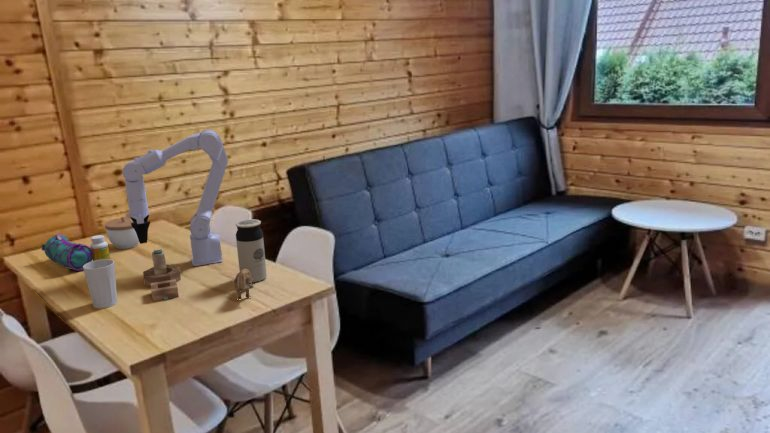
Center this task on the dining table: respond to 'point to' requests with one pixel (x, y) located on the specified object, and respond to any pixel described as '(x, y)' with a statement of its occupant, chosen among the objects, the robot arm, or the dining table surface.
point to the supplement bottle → (99, 248)
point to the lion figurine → (243, 282)
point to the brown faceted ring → (171, 274)
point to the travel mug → (251, 248)
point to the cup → (101, 282)
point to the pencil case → (67, 252)
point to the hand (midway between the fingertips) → (143, 239)
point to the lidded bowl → (122, 233)
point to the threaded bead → (164, 290)
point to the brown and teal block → (159, 262)
